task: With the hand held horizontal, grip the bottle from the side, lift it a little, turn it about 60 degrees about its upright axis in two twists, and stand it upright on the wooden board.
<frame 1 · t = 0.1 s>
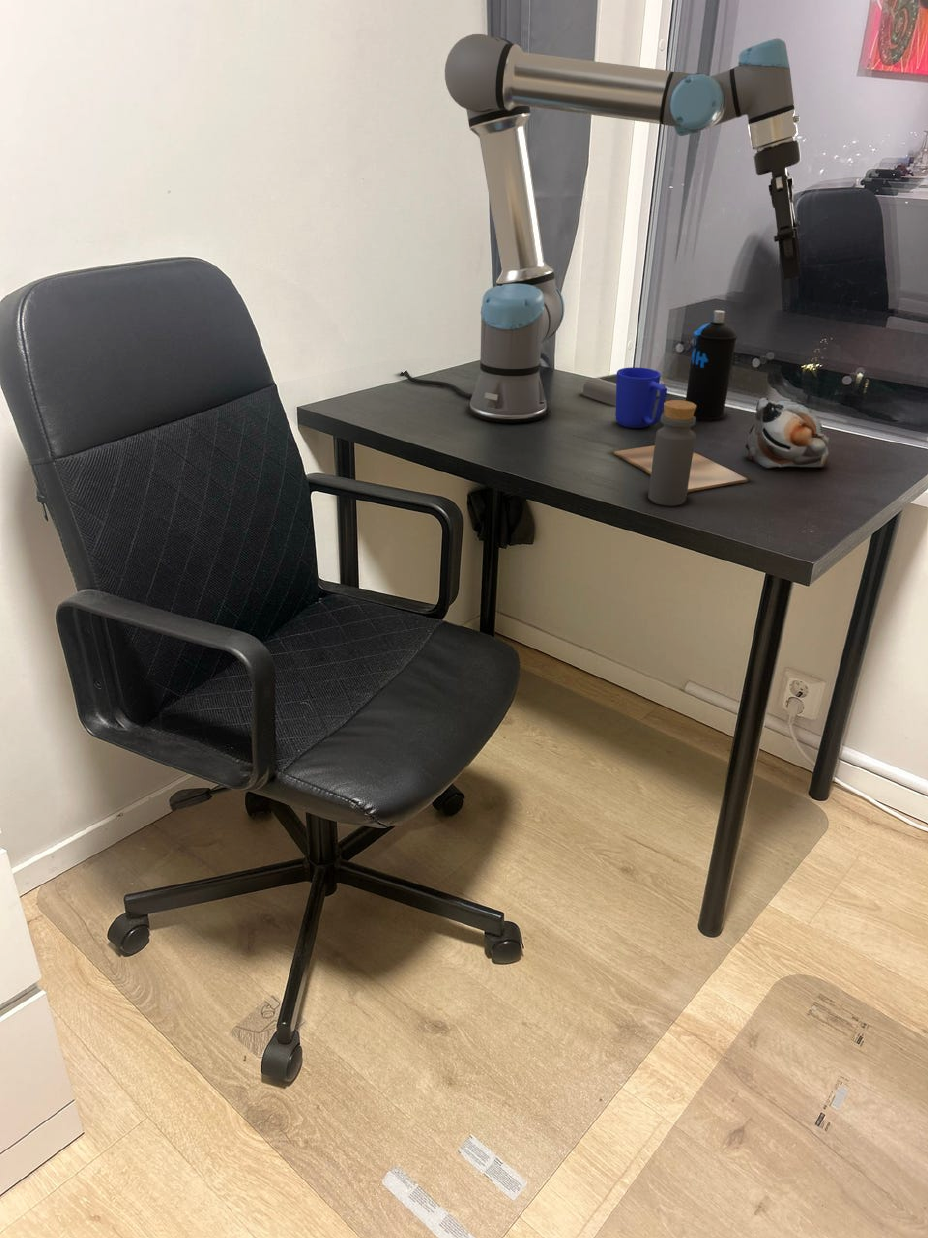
hand: (793, 271, 159), 28 cm above the table, tool tilted 20°, fingers open, 13 cm apart
wooden board: (678, 467, 150), on the table
aerosol can: (703, 415, 177), on the table
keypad: (623, 395, 188), on the table
bottle: (666, 500, 137), on the table
lucky cat figurine: (786, 465, 152), on the table
mug: (638, 428, 169), on the table
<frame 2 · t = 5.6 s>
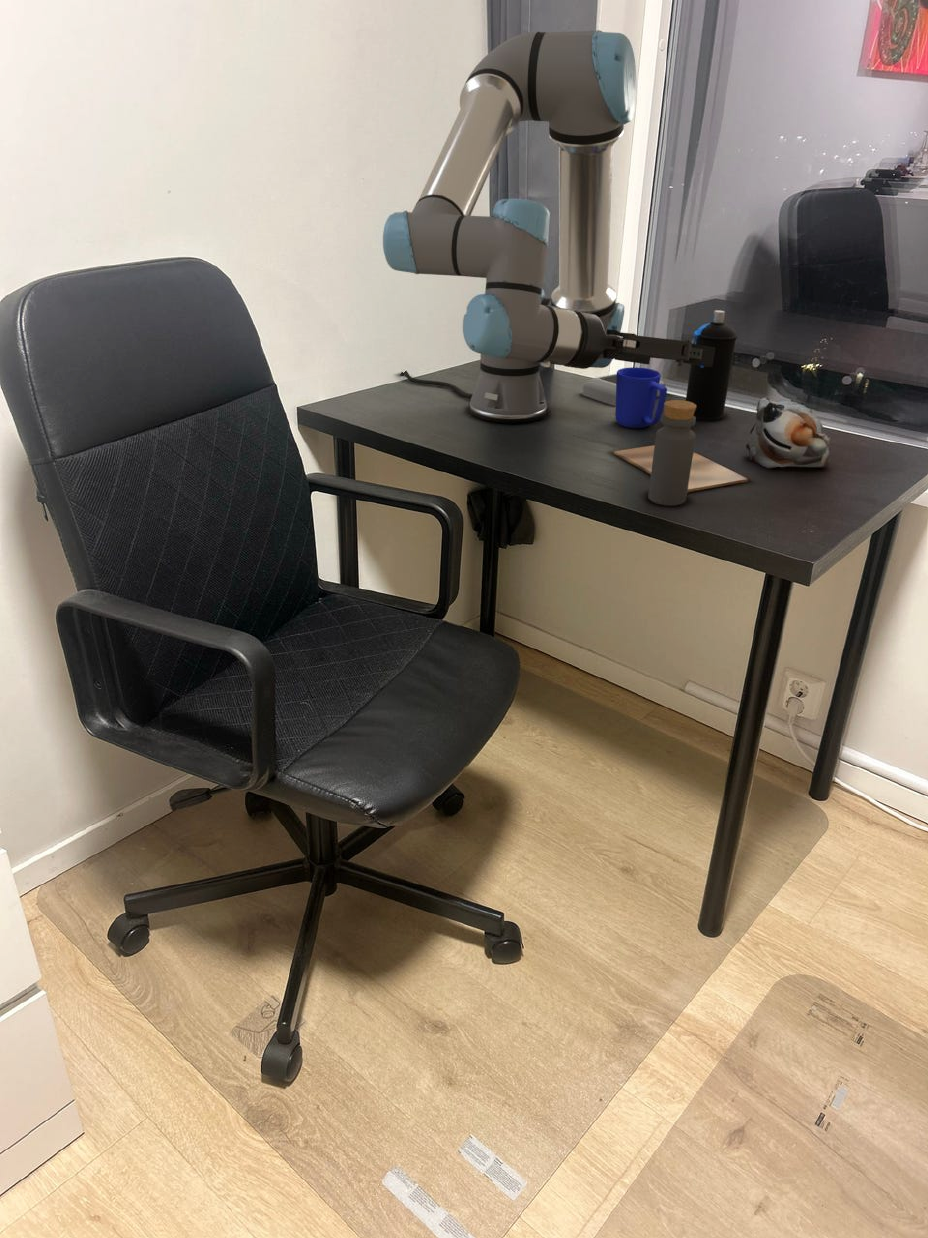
hand: (679, 356, 133), 20 cm above the table, tool horizontal, fingers open, 13 cm apart
nothing on the table moved.
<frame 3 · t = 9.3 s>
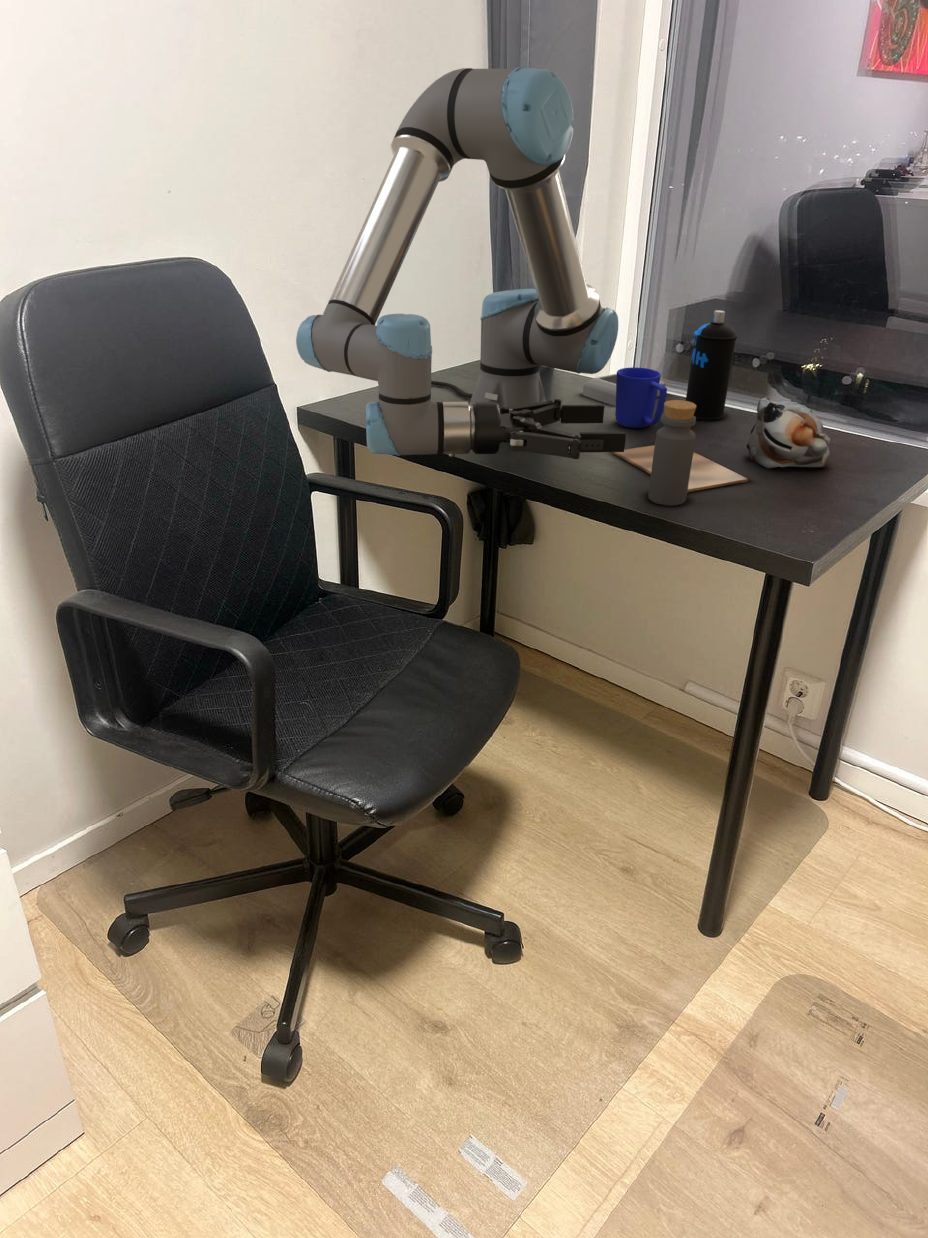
hand: (613, 427, 131), 12 cm above the table, tool horizontal, fingers open, 13 cm apart
nothing on the table moved.
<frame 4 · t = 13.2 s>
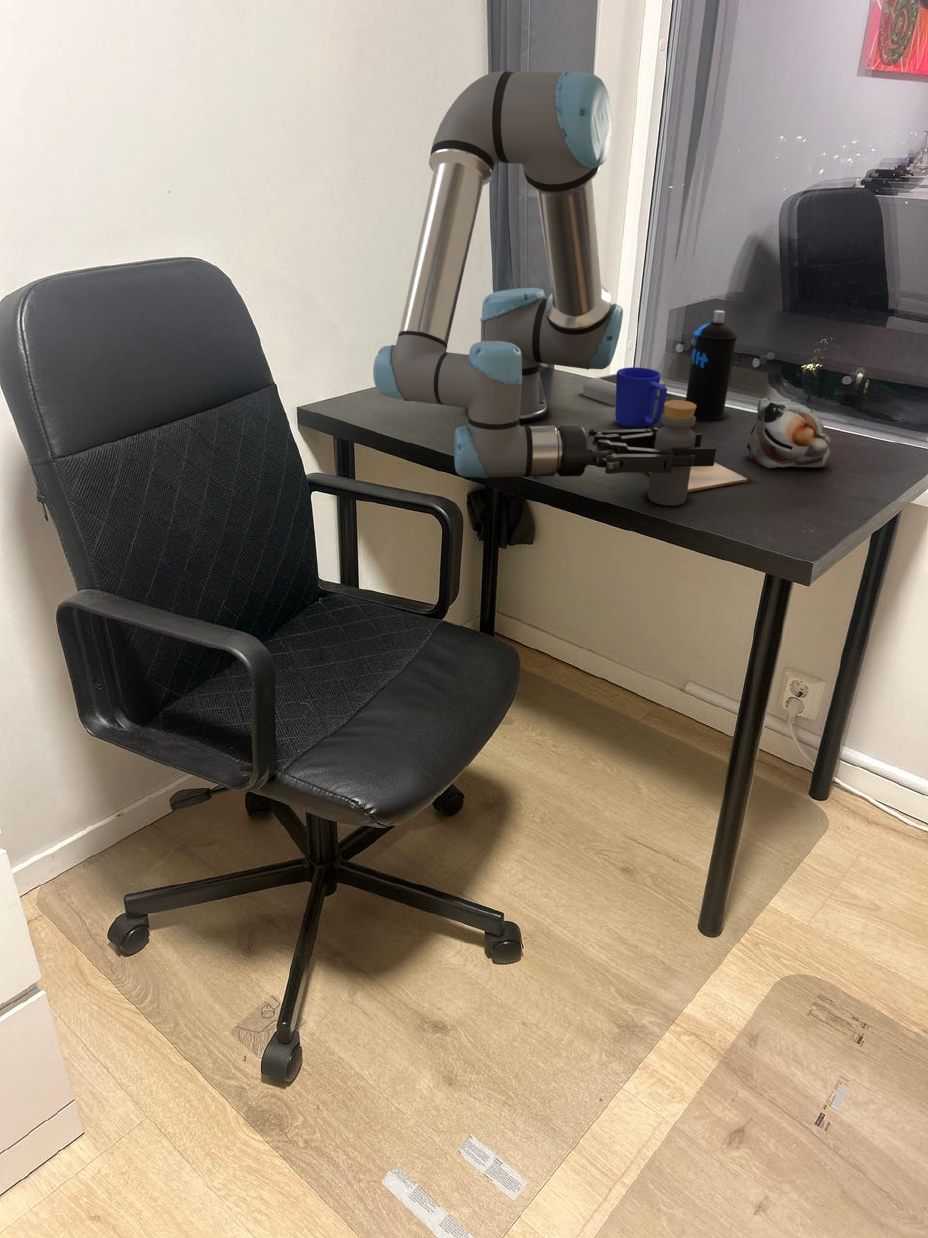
hand: (706, 449, 134), 8 cm above the table, tool horizontal, fingers closed on bottle, 6 cm apart
bottle: (666, 500, 137), on the table, touching gripper
everything else where it was.
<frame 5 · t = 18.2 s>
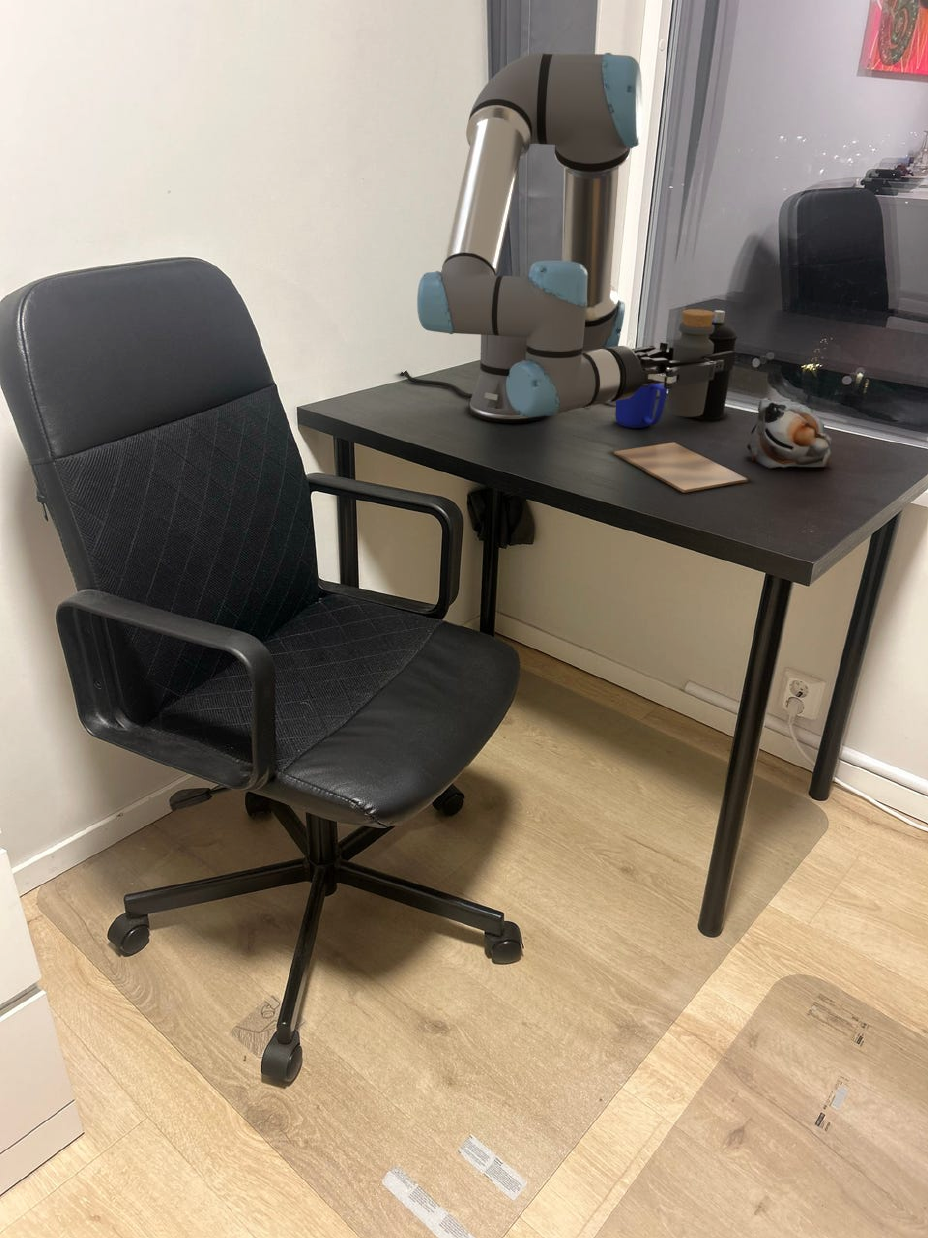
hand: (714, 355, 136), 20 cm above the table, tool horizontal, fingers closed on bottle, 6 cm apart
bottle: (684, 412, 138), point 12 cm above the table, touching gripper
everything else where it was.
when the fingers open (8 cm above the table, at t = 23.6 s): bottle stays where it is, resting on wooden board.
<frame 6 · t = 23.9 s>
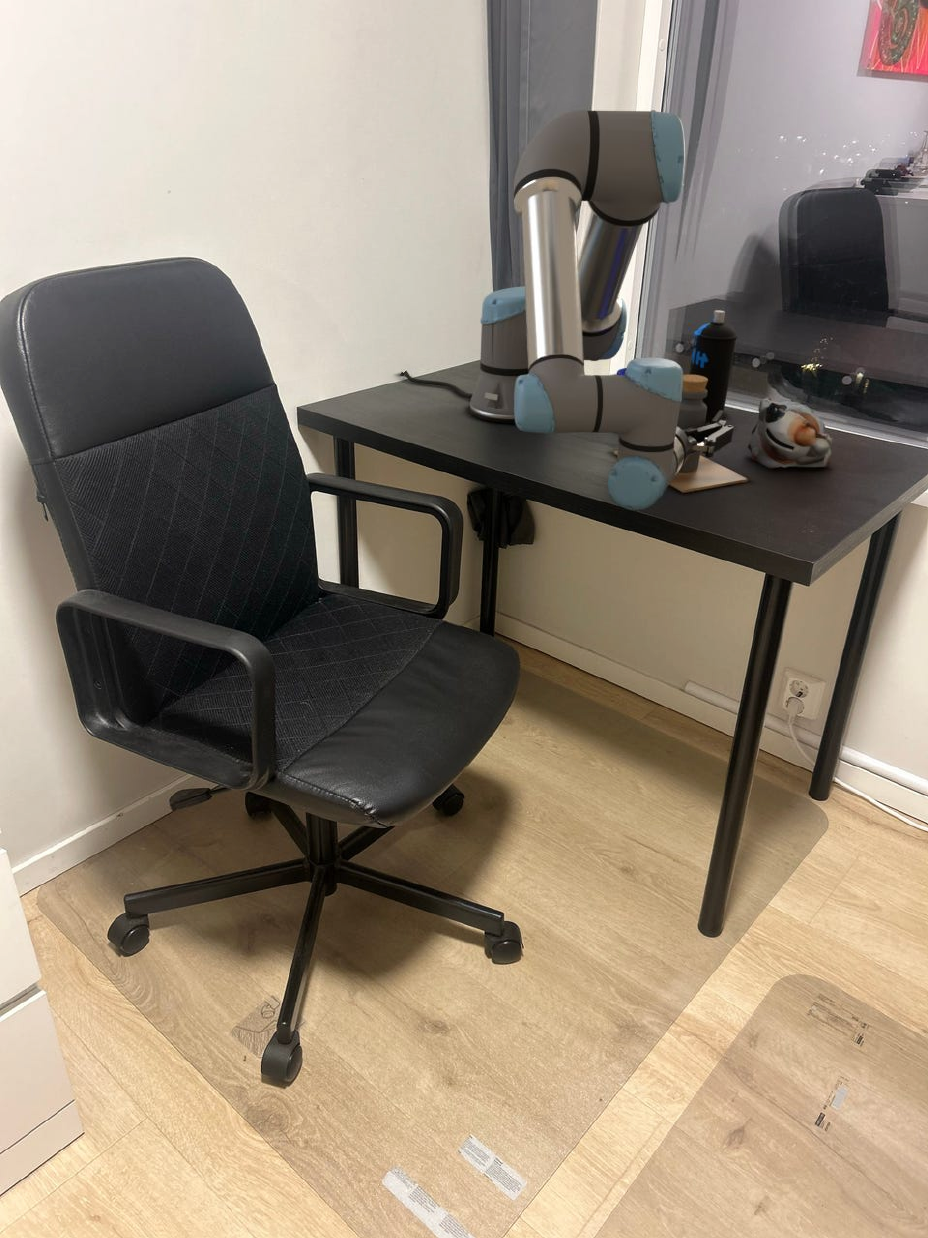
hand: (692, 414, 148), 8 cm above the table, tool horizontal, fingers open, 9 cm apart
bottle: (679, 467, 149), resting on wooden board
everything else where it was.
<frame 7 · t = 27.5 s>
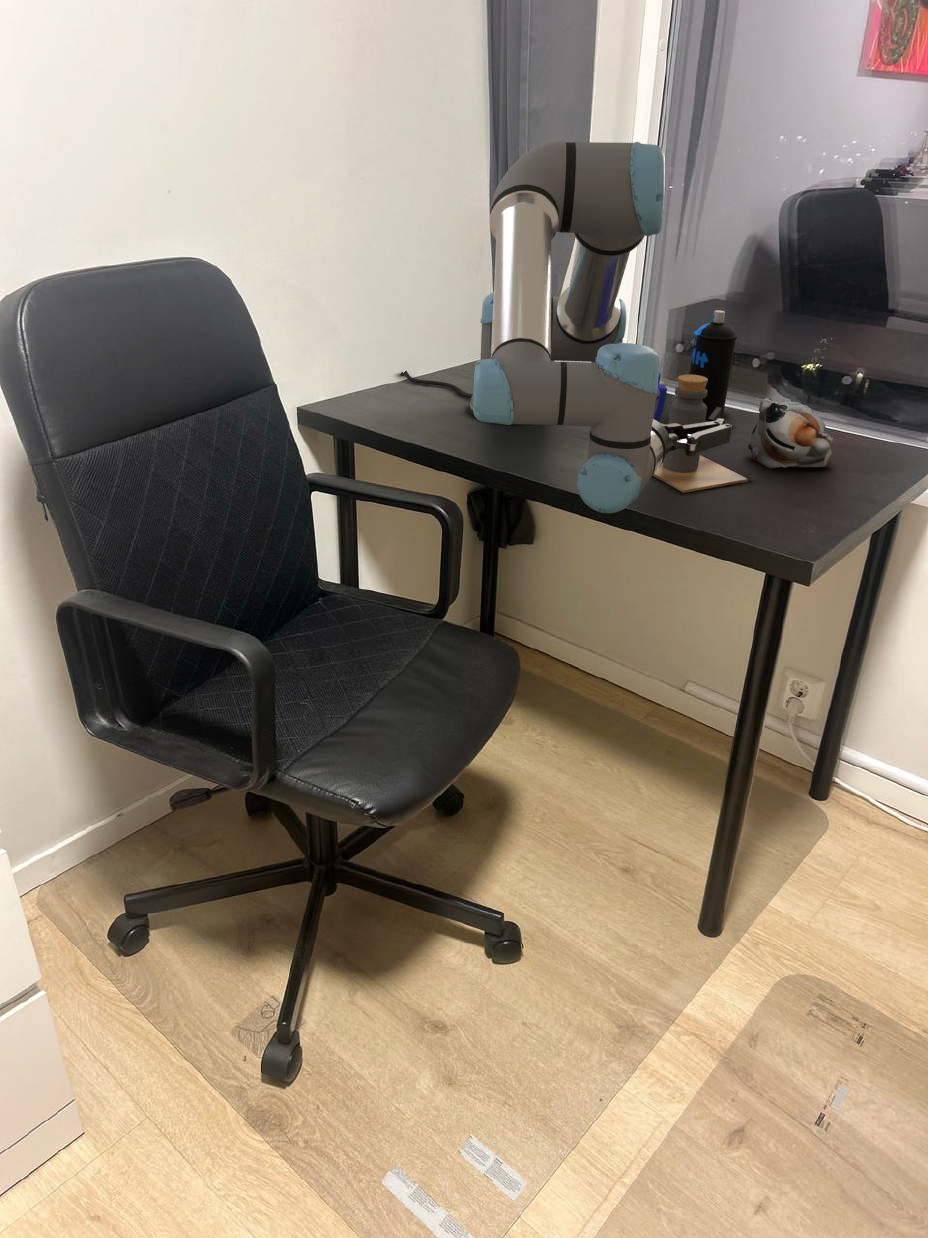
hand: (673, 409, 135), 13 cm above the table, tool horizontal, fingers open, 13 cm apart
nothing on the table moved.
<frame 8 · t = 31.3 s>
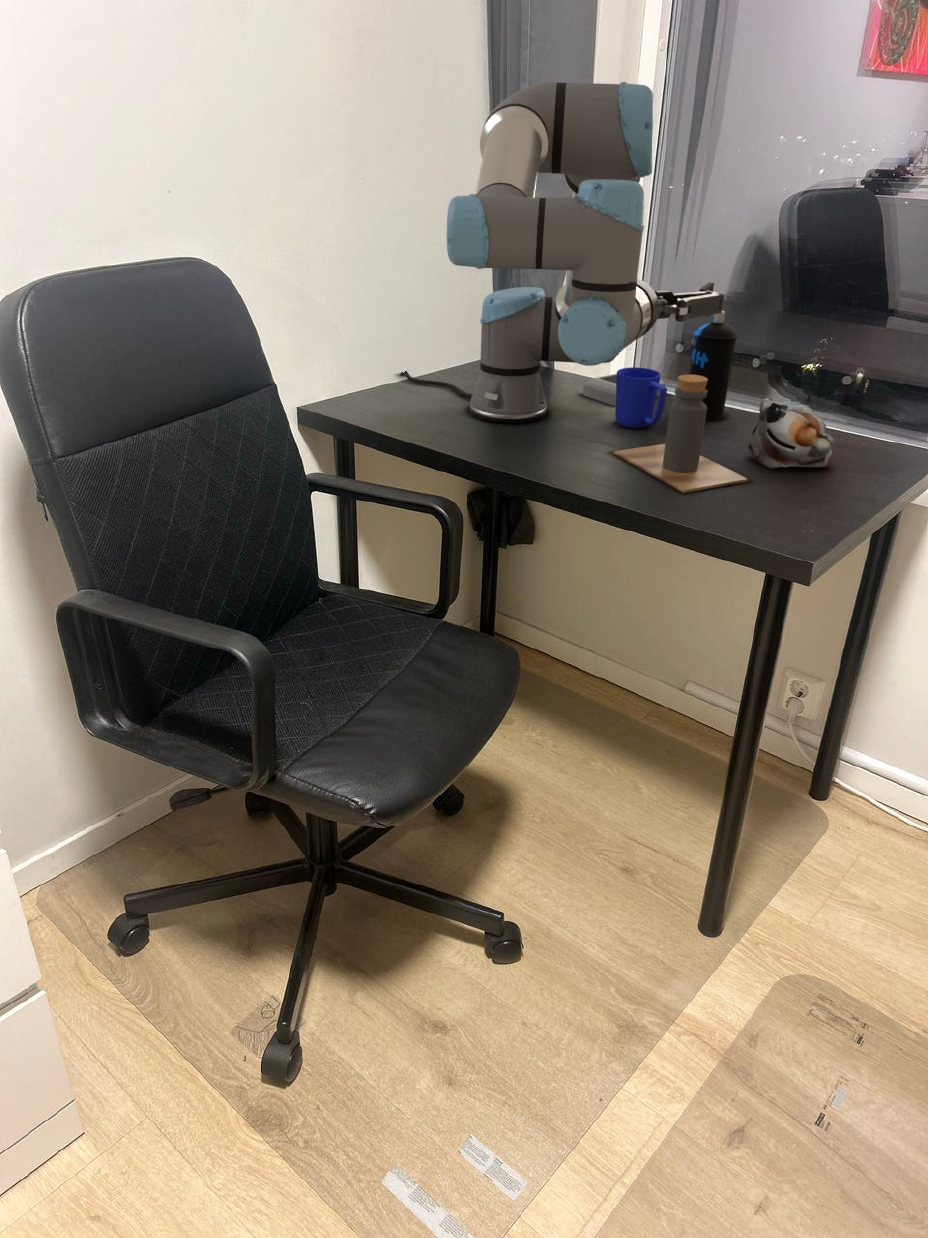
hand: (663, 288, 129), 30 cm above the table, tool horizontal, fingers open, 13 cm apart
nothing on the table moved.
at the end: bottle inside the target area on the wooden board (1.1 cm from its centre), point 0.3 cm above the wooden board's base; bottle tilted 0°; the gripper is holding nothing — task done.
